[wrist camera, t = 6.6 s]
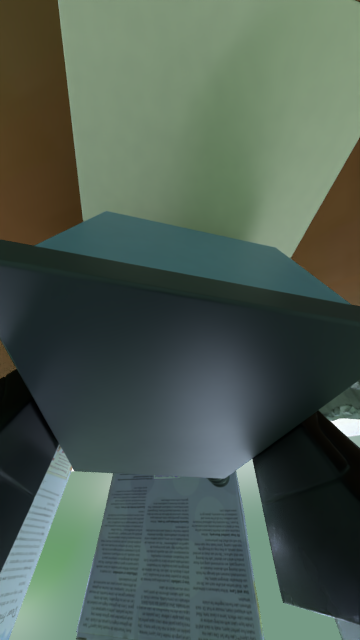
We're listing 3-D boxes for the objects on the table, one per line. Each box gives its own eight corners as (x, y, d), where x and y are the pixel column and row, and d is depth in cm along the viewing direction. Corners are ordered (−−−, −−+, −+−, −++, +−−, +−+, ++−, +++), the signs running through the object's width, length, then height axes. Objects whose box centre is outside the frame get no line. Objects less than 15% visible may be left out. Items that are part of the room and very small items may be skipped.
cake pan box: (126, 447, 34) (89, 633, 20) (113, 437, 31) (60, 647, 17) (230, 437, 31) (271, 647, 17) (227, 424, 28) (274, 667, 14)
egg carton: (378, 346, 18) (423, 384, 14) (359, 388, 22) (390, 424, 19) (263, 369, 20) (279, 407, 16) (266, 403, 24) (280, 438, 21)
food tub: (109, 371, 12) (73, 471, 8) (98, 201, 6) (-54, 252, 2) (210, 383, 13) (225, 479, 9) (284, 243, 7) (426, 334, 3)
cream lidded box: (115, 360, 19) (103, 397, 16) (106, 11, 7) (41, -133, 4) (200, 371, 20) (204, 407, 17) (325, 86, 8) (423, 27, 5)
